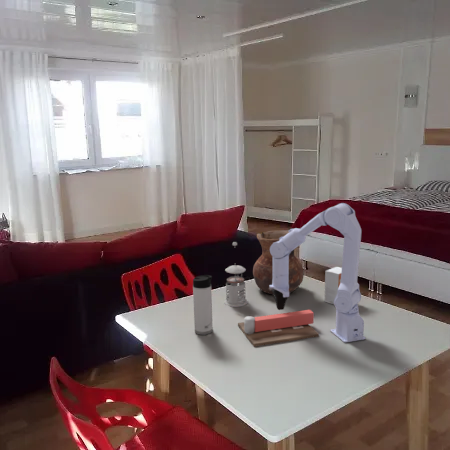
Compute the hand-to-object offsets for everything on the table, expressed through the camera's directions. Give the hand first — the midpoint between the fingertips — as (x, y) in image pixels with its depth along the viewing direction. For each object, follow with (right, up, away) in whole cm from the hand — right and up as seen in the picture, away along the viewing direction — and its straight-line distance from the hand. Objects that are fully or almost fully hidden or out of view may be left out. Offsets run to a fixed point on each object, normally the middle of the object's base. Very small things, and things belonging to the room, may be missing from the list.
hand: (280, 309), depth 167 cm
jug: (+3, +2, +31) cm, 31 cm away
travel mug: (-27, -6, -8) cm, 29 cm away
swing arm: (-2, -4, -9) cm, 10 cm away
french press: (-16, -1, +19) cm, 24 cm away
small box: (+25, 0, +17) cm, 30 cm away
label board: (-2, -6, -9) cm, 11 cm away
